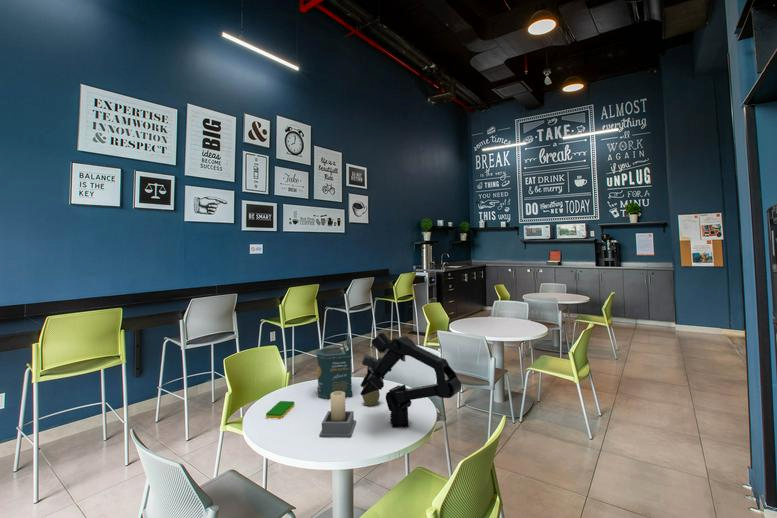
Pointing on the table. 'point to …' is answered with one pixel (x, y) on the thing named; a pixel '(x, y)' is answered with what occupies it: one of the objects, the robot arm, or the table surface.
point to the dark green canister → (334, 370)
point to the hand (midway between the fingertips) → (361, 390)
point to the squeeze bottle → (371, 397)
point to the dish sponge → (280, 409)
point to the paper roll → (338, 406)
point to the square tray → (338, 426)
